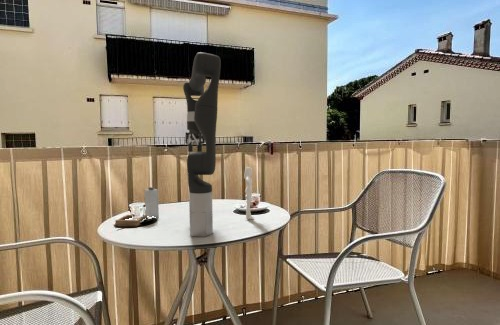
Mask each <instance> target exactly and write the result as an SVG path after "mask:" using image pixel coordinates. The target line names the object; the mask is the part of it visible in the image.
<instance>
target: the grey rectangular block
mask: <svg viewBox="0 0 500 325" xmlns="http://www.w3.org/2000/svg"><path fill="white" fill-rule="evenodd" d="M143 192H144V195H143V196H144V205H145V204H146V210H145V209H144V215H147V216H149V217H152V216H154V217H156V219H159V217H160V216H159V215H160V213H159V212H160V211H159V190H158V188H155V187H153V186H152V187H151V186H150V187H148V188H146V189H144V191H143Z"/></svg>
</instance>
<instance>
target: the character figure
mask: <svg viewBox="0 0 500 325" xmlns="http://www.w3.org/2000/svg"><path fill="white" fill-rule="evenodd" d="M243 174H244V175H243V179H245V182H246V188H245V190H244V193H245V194H246V205H245V206H246V210H245V216H246V217H245V219H246V220H255V217H254V216H252V213H251V205H252V197H253V193H252V190H253V182H254V181H253V180H254V179H252V176H253V168H252V167H250V166H246V167H245V169H244V173H243Z"/></svg>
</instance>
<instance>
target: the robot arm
mask: <svg viewBox="0 0 500 325" xmlns="http://www.w3.org/2000/svg"><path fill="white" fill-rule="evenodd" d="M192 64H193V65H192V70H191V77H190V79H189V81H185V82H184V83H183V86H182V87H183V88H182V89H183V93H184V96H185V100H186V107H187V108H186V110H187V113H186V130H187V131H186V132H185V136H184V138H185V141H184V142H185V144H187V151H188V155H187V158H186V169H187V172H186V173H187V184H188V196H189V197H188V198H189V199H188V202H189V205H188V206H189V208H188V209H189V235H190V237H202V238H203V237H205V238H206V237H208V236H210V235H213V232H214V230H213V227H214V226H213V224H214V222H213V217H214V216H213V185H212V184H211V183H209V182H208V181H205V180H203V179H202V178H201V177H200V176H212V175H214V173H215V171H216V170H215V169H216V163H217V162H216V161H217V158H216V157H217V156H216V155H217V154H216V147H217V146H216V134H217V120H218V102H219V101H218V99H219V98H218V96H219V84H220V78H221V77H220V76H221V67H222V65H221V64H222V63H221V58H220V56H219V55H216V54H212V53H207V52H201V51H200V52H197V53H196V55H195V56H194V59H193V63H192ZM206 77H207V78H210V82H209V84H208V86H207V88H206V89H205V87H204V86H205V84H206V82H207V81H206V79H207V78H206ZM192 96H193V97H198V99H193V97H192ZM188 131H189V132H188ZM194 142H195V143H196V144H197V145H196V146H197V147H196V148H197V150H196V151H193V149H194V148H193V143H194ZM203 145H205V151H202V150H203V147H202V146H203ZM199 175H200V176H199Z"/></svg>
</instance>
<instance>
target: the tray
mask: <svg viewBox="0 0 500 325" xmlns="http://www.w3.org/2000/svg"><path fill="white" fill-rule="evenodd" d="M132 215H133V214H125V215H123V216H121V217H120V218H117V219H116V220H115V221H114V222H115V226H116V227H138V226H141V224H140V221H142V220H143V219H145V218H147V215H145V214H142V215H143V217H141V218H139V219H137V220H125V219H129V218H132Z"/></svg>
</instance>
